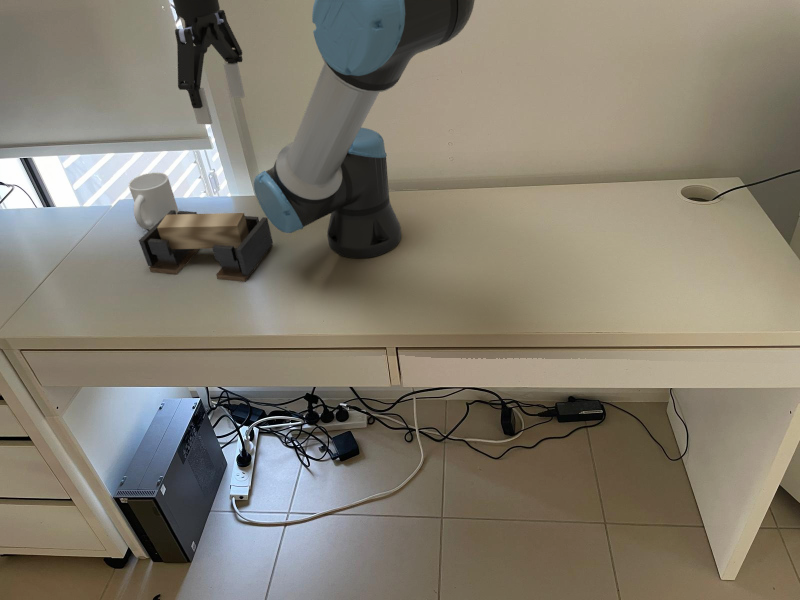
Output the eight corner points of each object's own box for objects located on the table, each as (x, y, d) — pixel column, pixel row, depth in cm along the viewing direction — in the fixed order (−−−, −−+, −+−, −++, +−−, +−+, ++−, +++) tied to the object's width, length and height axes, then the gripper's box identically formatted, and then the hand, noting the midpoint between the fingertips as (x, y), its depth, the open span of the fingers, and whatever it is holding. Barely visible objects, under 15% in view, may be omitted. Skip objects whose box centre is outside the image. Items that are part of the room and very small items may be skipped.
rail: (249, 234, 130) (243, 212, 126) (242, 247, 126) (237, 225, 123) (173, 235, 131) (166, 214, 128) (164, 249, 127) (157, 227, 124)
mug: (161, 241, 137) (146, 199, 131) (127, 239, 139) (111, 197, 133) (187, 213, 147) (174, 172, 140) (155, 212, 148) (141, 171, 142)
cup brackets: (274, 245, 133) (268, 216, 129) (247, 281, 123) (239, 251, 119) (181, 237, 138) (172, 209, 134) (148, 271, 128) (137, 241, 124)
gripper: (208, -26, 120) (233, 86, 133) (132, 8, 102) (170, 135, 114) (244, -27, 119) (266, 87, 131) (174, 7, 100) (208, 136, 113)
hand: (222, 109), depth 123 cm, fingers open, 13 cm apart
